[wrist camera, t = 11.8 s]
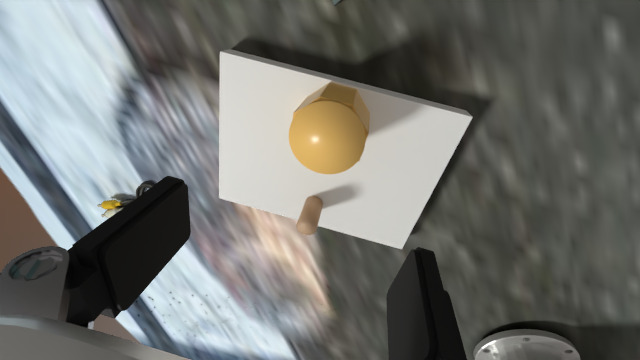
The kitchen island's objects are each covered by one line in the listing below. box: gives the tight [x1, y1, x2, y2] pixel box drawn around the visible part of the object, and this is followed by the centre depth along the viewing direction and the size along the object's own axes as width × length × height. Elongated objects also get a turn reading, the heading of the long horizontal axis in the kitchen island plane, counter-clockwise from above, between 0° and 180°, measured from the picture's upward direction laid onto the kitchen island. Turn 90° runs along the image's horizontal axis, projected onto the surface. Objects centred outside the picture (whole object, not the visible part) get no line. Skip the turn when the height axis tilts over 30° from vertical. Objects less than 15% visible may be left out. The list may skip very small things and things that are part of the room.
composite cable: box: [97, 181, 154, 218], centre depth 36 cm, size 10×5×2 cm, turn 117°
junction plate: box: [219, 49, 473, 249], centre depth 26 cm, size 22×16×6 cm
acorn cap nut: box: [289, 82, 370, 174], centre depth 22 cm, size 6×6×6 cm
